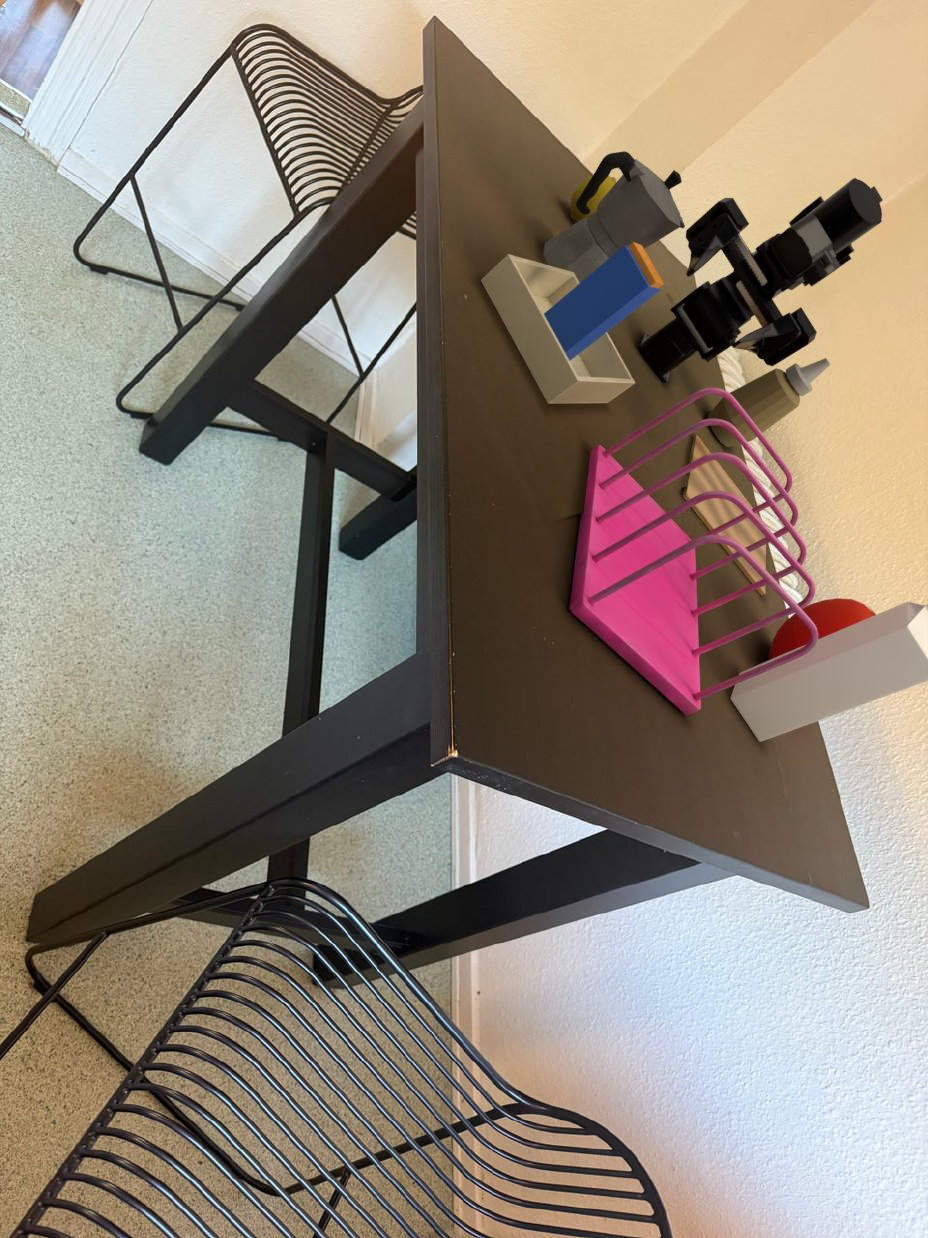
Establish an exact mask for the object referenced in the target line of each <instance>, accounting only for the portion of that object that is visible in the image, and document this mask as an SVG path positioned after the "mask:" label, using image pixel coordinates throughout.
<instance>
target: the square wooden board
mask: <svg viewBox="0 0 928 1238" xmlns="http://www.w3.org/2000/svg"><path fill="white" fill-rule="evenodd" d="M690 449H691V450H690V453H689V459H688V464H690V463H691V462H693V461H695V460H697V459H699V458H701V457H703V456H705V455H708V454H710V453H711V451H710V450H709V449H708V447H707V446H706V444H705V443H704V442H703V440H702V439H701V437H699V435H697V434H696V435H693V437H692V443H691V448H690ZM686 476H687V478H688V480H687V481H688V483H687V485H685V486H684V487H683V492H682V497H683V499H684V500H685V502H686V501H688V500H689V499H691V498H693V497H695V496H697V495H699V494H702V493H704V492H708V491H726V492H729V493H732V494H735V495H736V496H738V497H739V498H741V499H742V500H743V501H744V502H745V503H746V504H747V505H748V506H749V508H750V509H753V508H754V507H753V505H751V504H750V502H749V501H748V500H747V498H746V497H745V496H744V494H743V493H742V492H741V490H740V489H739V488H738V487H737V485H736V484H735V482H734V481H733V480H732V479H731V477H730V475H728V474H727V472H726V471H725V470H724V468H723V467H722V466H721V463H719V461H717V460H712V461H708V462H706V463H704V464H702V465H700V466H698V467H697V468H695V469H693V470H692V471H690V472H688V473H687V474H686ZM690 508H691V509H692V510H693V511H694V513H695V514H696V515H697V517H698V518H699V519H700V520H701V521H702V523H703V524H704V526H705V527H706V528H707V529H708V530H709V531H711V530H713V529H715V528H717V527H719V526H721V525H723V524H724V523H726V522H728V521H730V520H732V519H734V518H736V517H738V516H740V515H742V514H744V513H743V512H742V510H741V509H740V508H739V507H738V506H737V505H736V504H734V503H733V502H731V501H729V500H726V499H720V498H713V499H707V500H705V501H702V502H700V503H698V504H696V505H694V506H692V507H690ZM756 515H757V516H758V517H759V519H760V520H761V521H762V522H763V523H764V524H765V525H766V523H765V522H764V521H763V518H761V517H760V515H759V514H758V513H756ZM716 535H723V536H727V537H730V538H732V539H735V540H737V541H738V542H739V543H741V544H742V545H743V546H744V547H747V546H749V545H751V544H753V543H755V542H757V541H759V540H761V539H763V538H765V535H764V534H763V533H762V532H761V531H760V530H759V529H758V528H757V527H756V526H755V524H754V523H753V522H752V521H751V520H750V519H749V518H746V519H744V520H743V521H741V522H739V523H737V524H735V525H733V526H731V527H729V528H727V529H725V530H723V531H722V532H720V533H718V534H716ZM719 544H720V546H721V547H722V548H723V549H724V551H725V552H726V553H727V554H728V556H730V555H732V554H734V553H736V552H737V551H736V550H735V549H734V548H732V547H730V546H728V545H726V544H721V543H719ZM750 553H751V555H752V556H753V557H754V558H755V559H756V560H757V561H758V562H759V563H760V564H761V565H762V566H763V567H764V568H765V569H766V570H767V544H765V545H763V546H761V547H759V548H757V549H755V550H753V551H751V552H750ZM733 562H734V563H735V565H737V567H738V568H739V570H740V571H741V572H742V573H743V575H744V576H745V577H746V578H747V579H748V582H750V584H753V583H755V582H758V581H760V580H762V579H763V578H762V577H761V576H760V575H759V574H758V573H757V572H756V570H755V569H754V568H753V567H752V566H751V565H750V564H749V563H748V562H747V561H746V560H745V559H744V558H743V557H742V556H741V557H739V558H737V559H735V560H733ZM766 586H767V585H765V586H763V587H760V588H758V589H756V590H755V591H757V592H758V594H759V595H760V596H761V597H762V596H764V595H766V588H767V587H766Z"/></svg>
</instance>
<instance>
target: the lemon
mask: <svg viewBox="0 0 928 1238" xmlns="http://www.w3.org/2000/svg"><path fill="white" fill-rule="evenodd" d="M592 176H593V174H592V175H590V176H588V177H587V178H585V179H584V180H583V181H582V182H581V183H579V185H578V186H577V187H576V188H575V189H574V192H573V193H572V194H571V195H572V196H571V199H570V209H571V213H570V217H571V219H572V220H573V221H580V220H582V219H583V218H589V217H590V216H591V215H592V214H593V213H594V212H596V211H597V206H598V204H599V202H600V201H601V200H602V199H603V198H604V196H605V195H606V194H607V193H608V192H609V191H610V189H611V188H612V187H613V186H614V185H615V183H616V182H617V181H618V180H617V178H615V176H610V175H609V176H608V177H607V178H606V179H605V180H604V182H603V183H602V184H601V185H600V186H599V188H598V191H597V193H596V194H595V195H594V196H593V197H592V198H591V199H590V200H589V201H588V202H587V207H588V208H589V209H590V210H591V212H590V213H589V214H586V215H584V214H582V213H581V212H580V211H579V210H578V209H577V207H576V202H577V200H578V199H579V197H580V195H581V194H582V192H583V191H584V189H585V187H586V186H587V184H588V182H589V181H590V179H591V178H592Z"/></svg>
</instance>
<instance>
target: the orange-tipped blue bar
mask: <svg viewBox="0 0 928 1238" xmlns="http://www.w3.org/2000/svg"><path fill="white" fill-rule="evenodd" d="M664 285H665V283H664V281H663V280H662V278H661V276H660V274H659V272H658V271H657V269H656V267H655V265H654V263H653V262H652V260H651V259H650V256H649V255H648V252H647V251H646V249H644V248H643V246H642V245H640V244H637V243H635V242H633V243H631V244H630V245H629V246H626V245H625V246H623V247H622V248H621V249H620V250H619V251H618V252H616V253H615V254H614V255H613V256H612V257H610V258H609V259H608V260H607V261H606V262H605V263H603V264H602V265H601V266H600V267H599V268H597V269H596V270H595V271H594V272H593V273H591V274H590V275H589V276H588V277H587V278H586V279H584V280H583V281H582V282H581V283H580V284H578V285H577V286H576V287H575V288H574V289H573V290H571V291H570V292H569V293H568V294H567V295H565V296H564V297H563V298H562V299H561V300H560V301H558V302H557V303H556V304H555V305H554V306H552V307H551V308H550V309H549V310H548V311H546V312H545V313H544V315H545V317H546V319H547V321H548V323H549V325H550V326H551V328H552V330H553V332H554V334H555V335H556V337H557V339H558V341H559V343H560V344H561V346H562V348H563V350H564V352H565V354H566V355H567V357H568V359H569V361H570V360H572V359H573V358H574V357H576V356H577V355H578V354H579V353H581V352H582V351H583V350H585V349H586V348H587V347H588V346H590V345H591V344H592V343H594V342H595V341H596V340H597V339H599V338H600V337H601V336H603V335H604V334H605V333H606V332H607V333H608V332H609V331H611V330H612V329H613V328H614V327H616V326H617V325H618V324H619V323H621V322H622V321H623V320H625V319H626V318H627V317H629V315H631V314H632V313H633V312H635V311H636V310H637V309H639V308H640V307H642V305H644V304H645V303H646V302H647V301H649V300H650V299H651V298H653V297H654V296H655V295H656V294H658V293H659V292H661V288H662V287H663V286H664Z"/></svg>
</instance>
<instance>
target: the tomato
mask: <svg viewBox="0 0 928 1238" xmlns="http://www.w3.org/2000/svg"><path fill="white" fill-rule="evenodd" d="M802 610H803V611H804V612H805V613H806V615H807V616H808V617H809V618H810V619H811V620H812V621H813V623H814V624H815V626H816V628H817V631H818V639H820V638H823V637H825V636H828V635H830V634H832V633H835V632H837V631H839V630H842V629H844V628H846V627H849V626H851V625H853V624H856V623H858V622H861V621H863V620H865V619H868V618H870V617H872V616H875V615H877V613H875V611H874V610H872V607H870V606H869V605H866V604H865V603H863V602H860V601H858V600H855V599H852V598H841V597H840V598H837V597H836V598H829V599H823V600H820V601H816V602H813V603H810V604H809V605H807V606H806V607H805V608H803V609H802ZM810 638H811V631H810V629H809V628H808V627H807V626H806V625H805V623H804V622H803V621H802V620H801V619H800V618H799V617H798V616H797V614H796V613H793V614H791V615H790V617H789V618H787V619H786V620H785V621H784V623H782V625H781V626H780V627H779V628H778V629H777V631H776V633H775V634H774V636H773V639H772V642H771V645H770V648H769V653H768V661H769V660H771V659H773V658H776V657H778V656H780V655H783V654H785V653H788V652H790V651H792V650H795V649H797V648H799V647H802V646H804V645H806V644H807V643H808V641H809V640H810Z"/></svg>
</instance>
